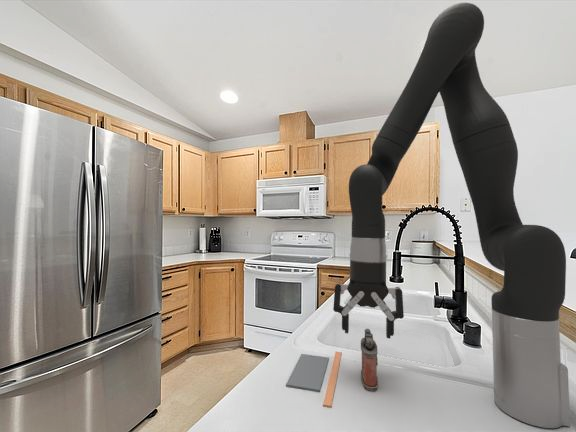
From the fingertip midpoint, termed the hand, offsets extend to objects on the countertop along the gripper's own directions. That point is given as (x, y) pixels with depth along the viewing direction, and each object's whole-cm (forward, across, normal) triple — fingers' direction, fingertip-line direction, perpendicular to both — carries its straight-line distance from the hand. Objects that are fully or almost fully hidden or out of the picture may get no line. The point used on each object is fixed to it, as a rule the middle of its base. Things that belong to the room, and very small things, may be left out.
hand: (367, 334), depth 58 cm
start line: (+10, +7, 0) cm, 12 cm away
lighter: (+10, -1, 0) cm, 10 cm away
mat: (+10, +12, 0) cm, 16 cm away
